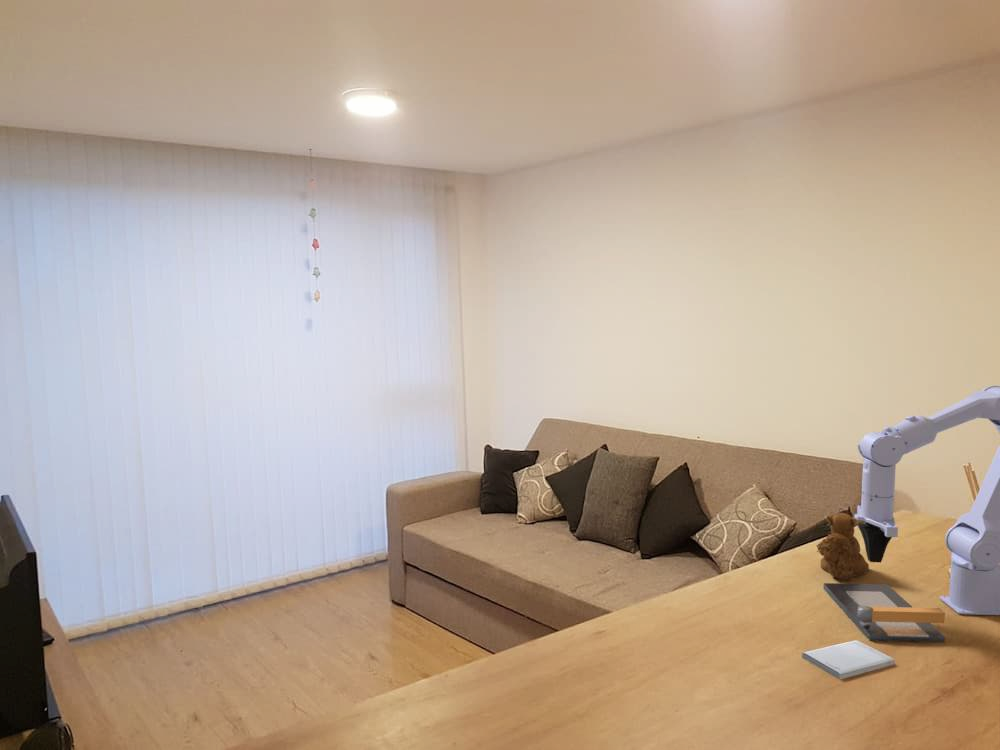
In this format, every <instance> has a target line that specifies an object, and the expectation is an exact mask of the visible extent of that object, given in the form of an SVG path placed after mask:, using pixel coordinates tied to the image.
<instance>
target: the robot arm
mask: <svg viewBox="0 0 1000 750" xmlns="http://www.w3.org/2000/svg"><path fill="white" fill-rule="evenodd" d="M976 419H987V420H989V421H990V422H991V423H992V424H993V425H994V426H995V427H996V429H997V431H998V433H999V434H1000V385H989V386H987V387H985V388H984V389H980V390H975V391H974V392H973V393H971V394H970V395H969V396H967V397H965V398H964V399H962V400H959V401H958V402H955V403H954V404H951V405H949V406H948V407H946V408H944V409H941V410H940V411H938V412H936V413H934V414H932V415H929V416H927V417H926V416H923V415H921V414H920V415H919V414H917V415H913V414H910V415H907V416H905V420H903V421H901V422H899V423H896V424H895V425H893V426H885V427H883V428H882V431H881V432H880V431H871V432H868V433H867V434H865V435H863V438H862V439H861V440H860V443H859V444H858V445H857V450H858V452H859V454H860V456H861V457H862V476H861V477H862V478H861V500H860V502H861V503H860V505H857V508H856V509H857V510H856V513H854V515H853V517H854V518H855V519H857V520H858V521H862V523H861V522H860V523H859V522H858V524H857V527H858V529H859V531H860V533H861V536H862V538H863V543H864V546H865V547H864V548H865V554H866V559H867V560H868V561H869V562H870V563H882V561H883V558H884V555H885V552H886V549H887V548H888V547H887V546H888V545H889V543H890V541H891V539H892V538H898V536H899V535H898V534H899V533H898V532H899V527H898V526H897V524H896V521H895V516H894V507H895V506H894V505H895V485H896V484H895V483H896V465H897V464H899V462H900V461H901V460H902V458H903V456H904V455H906V454H909V453H911V452H913V451H915V450H917V449H920V448H922V447H924V446H928V445H929V444H932V443H933V442H934V441H935V440H936V438H937V435H938V434H939V433H941V432H943V431H946V430H949V429H952V428H953V427H957V426H960V425H962V424H965V423H968V422H970V421H972V420H973V421H974V420H976ZM986 472H987V473H986V475H985V476H984V479H983V482H982V484H981V486H980V488H979V490H978V493H977V495H976V497H975V500H974V502H973V504H972V507H971V508H970V510H969V511H968V512H966V513H964V514H961V515H960V516H958V518H957V520H956V522H955V524H954V525H953V526H951V527H950V528H949V529H948V530H947V532H946V534H945V537H944V542H945V545H946V547H947V549H948V550H949V551H950V559H951V560H950V561H951V562H950V577H949V578H950V579H949V592H948V593H949V595H940V596H939V599H940V600H941V601H943V602H944V603H945V604H946V605H947V606H949V607H950V608H951V609H952V610H953V611H955V612H956V613H957V614H959V615H972V616H973V615H975V616H978V615H979V616H1000V445H999V446H998V448H997V450H996V453H995V455H994V456H993V459H992V461H991V463H990V466H989V468H988V470H987V471H986ZM863 522H864V523H863Z"/></svg>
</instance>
